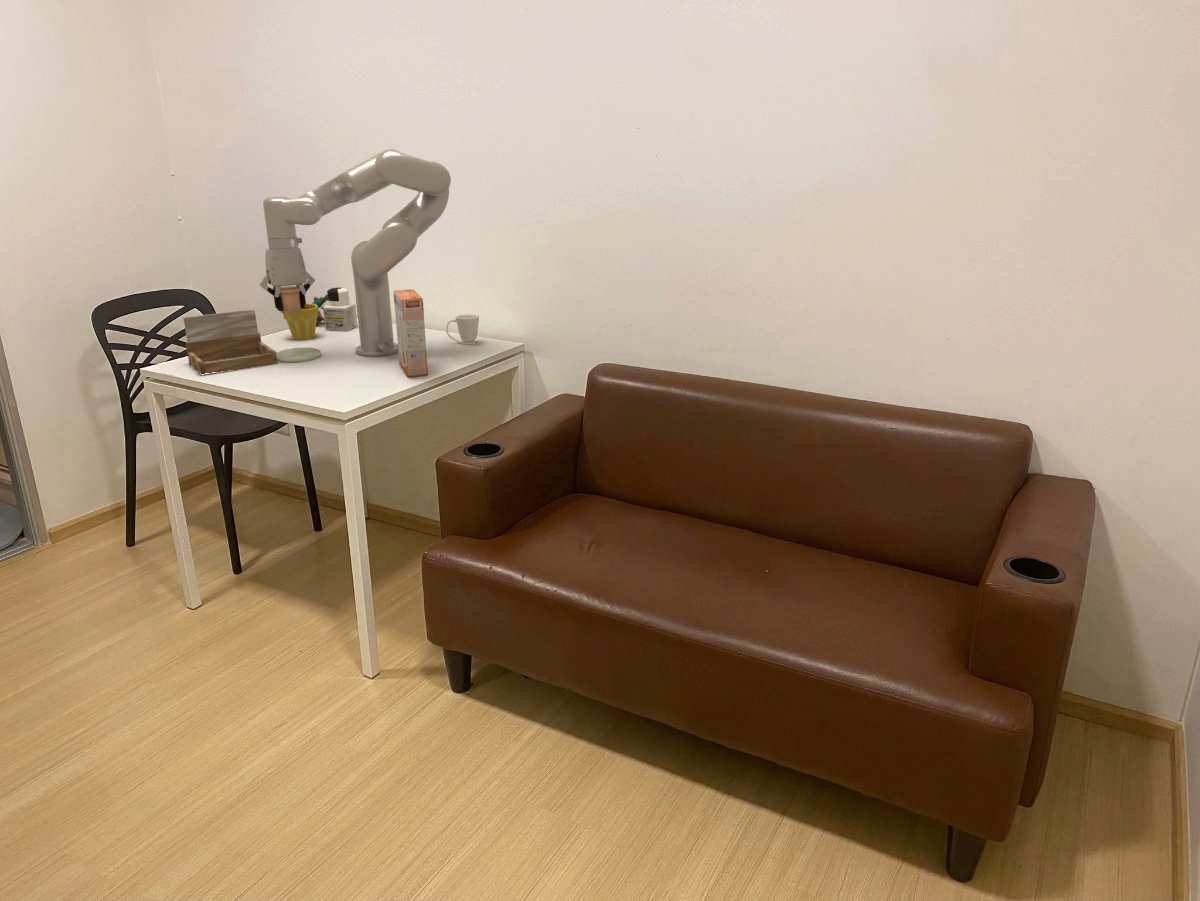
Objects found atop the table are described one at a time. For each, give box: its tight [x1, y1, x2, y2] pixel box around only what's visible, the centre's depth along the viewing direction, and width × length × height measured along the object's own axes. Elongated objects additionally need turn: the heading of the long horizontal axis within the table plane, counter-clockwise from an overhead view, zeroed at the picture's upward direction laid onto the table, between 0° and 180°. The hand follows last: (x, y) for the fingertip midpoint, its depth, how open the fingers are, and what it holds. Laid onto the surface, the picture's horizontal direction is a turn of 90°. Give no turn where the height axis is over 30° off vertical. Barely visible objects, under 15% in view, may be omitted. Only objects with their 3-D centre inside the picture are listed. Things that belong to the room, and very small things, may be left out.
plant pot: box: [282, 302, 319, 341], centre depth 275 cm, size 10×10×10 cm
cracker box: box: [392, 289, 429, 378], centre depth 237 cm, size 14×6×21 cm, turn 21°
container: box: [322, 287, 358, 332], centre depth 285 cm, size 8×8×13 cm
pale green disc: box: [276, 347, 322, 364], centre depth 255 cm, size 13×13×1 cm
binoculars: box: [311, 294, 328, 327], centre depth 292 cm, size 9×9×10 cm
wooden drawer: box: [182, 308, 279, 375], centre depth 246 cm, size 15×20×13 cm
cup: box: [446, 313, 480, 345], centre depth 268 cm, size 7×10×8 cm
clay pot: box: [279, 285, 302, 314], centre depth 249 cm, size 6×6×7 cm
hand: (291, 308), depth 250 cm, fingers closed on clay pot, 5 cm apart
